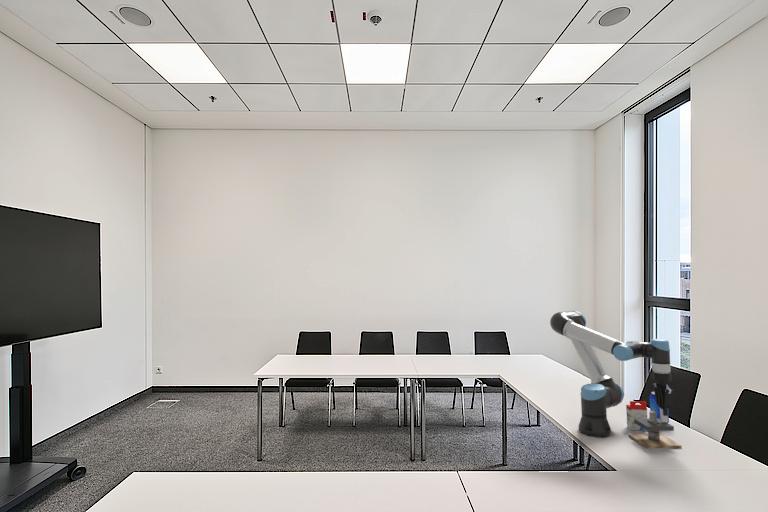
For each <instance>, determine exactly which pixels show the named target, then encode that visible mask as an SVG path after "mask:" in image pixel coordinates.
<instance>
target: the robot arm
mask: <svg viewBox="0 0 768 512" xmlns="http://www.w3.org/2000/svg"><path fill="white" fill-rule="evenodd" d="M549 324H550V327H551V329H552V330H553V331H554V332H555V333H557V334H559V335H561V336H564V337H565V338H566V339H568V340H570V341H571V343H572V345H573V347H574V349H575V350H576V353H577V355H578V357H579V359H580V361H581V363H582V365H583V367H584V369H585V371H586V373H587V375H588V377H589V379H590V383H587V384H584V385H582V386H581V388H580V404H581V417H580V420H579V423H578V432H579V433H580V434H582V435H585V436H588V437H593V438H607V437H610V436H612V428H611V426H610V423H609V420H608V415H607V411H608V410H607V409H610V408H614V407H617V406H618V405H620V404H621V403H622V402H623V400H624V396H625V394H624V393H625V392H624V390H623V388H622V386H621V385H620V384H618V383H617V382H615V381H614V379H613V377H611V376H609V375H608V373H606V370H605V369H604V367H603V364H602V363H601V361H600V359H599V357H598V354H597V353H596V351H595V349H594V348H597V349H599V350H601V351H603V352H606V353H607V354H610V355H613V357H615V359H616V360H618V361H621V362H622V361H623V362H626V361H630V360H634V359H639V358H646V359H651V365H652V366H651V369H652V379H653V380H654V381H655V383H652V387H653V392H654V393H655V398H656V404H657V405H659V407H660V421H661V422H668V411H669V409H671V408H672V397H673V393H674V390H673V389H671V388H670V384H669V382H671V381H672V373H671V368H672V367H671V353H670V352H671V349H670V342H669V340H668V339H664V338H652V339H651V340H650V342H646V341H645V342H644V341H637V340H627V341H626V343H625V342H623V341H620V340H618V339H616V338H613V337H610V336H608V335H606V334H603V333H600V332H599V331H596V330H593V329H591V328H588V327H586V326H587V320H586V318H585V315H584V314H583V313H581V312H580V311H576V310H568V311H559V312H556V313H554V314H553V315H552V316H551V318H550V320H549ZM667 409H668V411H667Z"/></svg>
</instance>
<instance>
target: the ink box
mask: <svg viewBox="0 0 768 512" xmlns="http://www.w3.org/2000/svg"><path fill="white" fill-rule="evenodd" d="M625 407H626V410H625V411H626V428H628V429H629V430H631V431H646V430H645V429H643V428H642V427H640V426H639V425H637V424H635V423H634V419H648V407H647V401H645V400H640V401H639V400H638V401H637V400H632V401H631V400H630V401H629V404H626V406H625Z"/></svg>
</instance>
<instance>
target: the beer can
mask: <svg viewBox="0 0 768 512" xmlns="http://www.w3.org/2000/svg"><path fill="white" fill-rule="evenodd" d="M650 411H653V412H656V413H657V418H659V419H660V407H659V405H657V404H656V398H655V393H654V391H651V393H650V395H649V412H650ZM667 411H668V422H666V423H668V424H669V423H670V418H669V417H670V416H669V412H670V411H669V409H667Z"/></svg>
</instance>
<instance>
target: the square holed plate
mask: <svg viewBox="0 0 768 512" xmlns="http://www.w3.org/2000/svg"><path fill="white" fill-rule="evenodd" d="M634 423H635V424H637V425H639V426H640V427H642V428H643V429H645V430H644V431H647V432H648V431H659V432H674V431H675V427H674V426H673V425H672V424H669V423H666V422H661V421H660V419H659V418H657V424H650V419H649V418H647V419H634Z"/></svg>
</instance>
